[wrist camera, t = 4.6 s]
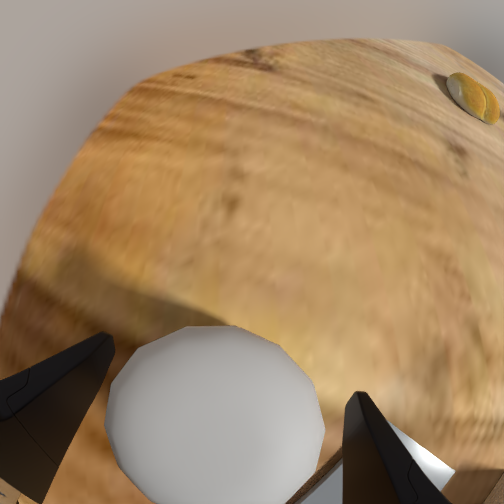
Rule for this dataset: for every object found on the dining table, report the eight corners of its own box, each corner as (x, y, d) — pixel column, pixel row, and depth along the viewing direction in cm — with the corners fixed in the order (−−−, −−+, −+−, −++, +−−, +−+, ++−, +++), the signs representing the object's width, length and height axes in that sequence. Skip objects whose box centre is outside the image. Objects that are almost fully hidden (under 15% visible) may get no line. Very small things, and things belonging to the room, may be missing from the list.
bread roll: (500, 133, 26) (514, 117, 23) (457, 112, 26) (471, 92, 23) (480, 96, 29) (491, 80, 25) (438, 75, 29) (448, 56, 26)
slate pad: (365, 559, 10) (367, 562, 10) (273, 519, 13) (274, 524, 12) (451, 469, 13) (455, 471, 13) (378, 415, 15) (382, 416, 15)
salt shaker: (173, 342, 17) (34, 303, 4) (265, 320, 17) (325, 234, 5) (198, 432, 15) (117, 561, 3) (290, 411, 15) (396, 512, 3)
